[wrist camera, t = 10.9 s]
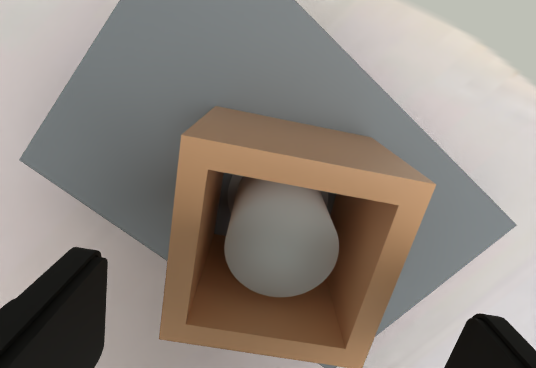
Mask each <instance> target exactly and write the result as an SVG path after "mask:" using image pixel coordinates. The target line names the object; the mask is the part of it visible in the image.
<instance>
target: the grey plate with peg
mask: <svg viewBox="0 0 536 368" xmlns="http://www.w3.org/2000/svg"><path fill="white" fill-rule="evenodd" d="M215 106H219V107H224V108H228V109H233V110H238V111H243V112H248V113H253V114H258V115H263V116H268V117H273V118H278V119H283V120H288V121H293V122H298V123H303V124H308V125H313V126H318V127H323V128H328V129H332V130H337V131H342V132H347V133H352V134H357V135H362V136H367V137H372V138H373V139H374V140H376V141H377V142H379V143H380V144H381V145H383V146H384V147H385V148H387V149H388V150H390V151H391V152H392V153H394V154H395V155H396V156H398V157H399V158H401V159H402V160H403V161H405V162H406V163H408V164H409V165H410V166H412V167H413V168H414V169H416V170H417V171H419V172H420V173H421V174H423V175H424V176H425V177H427V178H428V179H430V180H431V181H432V182H434V183H435V184H436V187H435V189H434V192H433V194H432V197H431V199H430V202H429V204H428V207H427V209H426V211H425V214H424V216H423V219H422V221H421V224H420V226H419V229H418V231H417V234H416V236H415V239H414V241H413V244H412V246H411V249H410V251H409V253H408V256H407V258H406V261H405V263H404V266H403V268H402V271H401V273H400V276H399V278H398V281H397V283H396V286H395V288H394V290H393V293H392V295H391V298H390V300H389V303H388V305H387V308H386V310H385V313H384V315H383V318H382V320H381V323H380V325H379V327H378V330H377V332H376V335H375V336H377V335H378V334H379V333H380V332H382V331H383V330H384V329H385V328H387V327H388V326H389V325H390V324H392V323H393V322H394V321H396V320H397V319H398V318H399V317H401V316H402V315H403V314H404V313H406V312H407V311H408V310H410V309H411V308H412V307H413V306H415V305H416V304H417V303H418V302H420V301H421V300H422V299H424V298H425V297H426V296H427V295H429V294H430V293H431V292H432V291H434V290H435V289H436V288H438V287H439V286H440V285H441V284H443V283H444V282H445V281H446V280H448V279H449V278H450V277H451V276H453V275H454V274H455V273H457V272H458V271H459V270H460V269H462V268H463V267H464V266H465V265H467V264H468V263H469V262H471V261H472V260H473V259H474V258H476V257H477V256H478V255H479V254H481V253H482V252H483V251H485V250H486V249H487V248H488V247H490V246H491V245H492V244H493V243H495V242H496V241H497V240H499V239H500V238H501V237H502V236H504V235H505V234H506V233H507V232H509V231H510V230H511V229H512V228H514V227H515V226H516V224H515V223H514V222H513V221H512V220H511V219H510V218H509V217H508V216H507V215H506V214H505V213H504V212H503V211H502V210H501V209H500V208H499V206H498V205H497V204H496V203H495V202H494V201H493V200H492V199H491V198H490V197H489V196H488V195H487V194H486V193H485V192H484V191H483V190H482V189H481V188H480V187H479V186H478V185H477V184H476V183H475V182H474V181H473V180H472V179H471V178H470V177H469V176H468V175H467V174H466V173H465V172H464V171H463V170H462V169H461V168H460V167H459V166H458V165H457V164H456V163H455V162H454V161H453V160H452V159H451V158H450V157H449V156H448V155H447V154H446V153H445V152H444V151H443V150H442V149H441V148H440V147H439V146H438V145H437V144H436V143H435V142H434V141H433V140H432V139H431V138H430V137H429V136H428V135H427V134H426V133H425V132H424V131H423V130H422V129H421V128H420V126H419V125H418V124H417V123H416V122H415V121H414V120H413V119H412V118H411V117H410V116H409V115H408V114H407V113H406V112H405V111H404V110H403V109H402V108H401V107H400V106H399V105H398V104H397V103H396V102H395V101H394V100H393V99H392V98H391V97H390V96H389V95H388V94H387V93H386V92H385V91H384V90H383V89H382V88H381V87H380V86H379V85H378V84H377V83H376V82H375V81H374V80H373V79H372V78H371V77H370V76H369V75H368V74H367V73H366V72H365V71H364V70H363V69H362V68H361V67H360V66H359V65H358V64H357V63H356V62H355V61H354V60H353V59H352V58H351V57H350V56H349V55H348V54H347V53H346V52H345V51H344V50H343V49H342V48H341V46H340V45H339V44H338V43H337V42H336V41H335V40H334V39H333V38H332V37H331V36H330V35H329V34H328V33H327V32H326V31H325V30H324V29H323V28H322V27H321V26H320V25H319V24H318V23H317V22H316V21H315V20H314V19H313V18H312V17H311V16H310V15H309V14H308V13H307V12H306V11H305V10H304V9H303V8H302V7H301V6H300V5H299V4H298V3H297V2H296V1H295V0H120V1H119V2H118V4H117V5H116V7H115V9H114V10H113V12H112V13H111V15H110V17H109V18H108V20H107V21H106V23H105V25H104V26H103V28H102V29H101V31H100V32H99V34H98V36H97V37H96V39H95V40H94V42H93V44H92V45H91V47H90V48H89V50H88V51H87V53H86V55H85V56H84V58H83V59H82V61H81V63H80V64H79V66H78V67H77V69H76V71H75V72H74V74H73V75H72V77H71V78H70V80H69V82H68V83H67V85H66V86H65V88H64V90H63V91H62V93H61V94H60V96H59V98H58V99H57V101H56V102H55V104H54V105H53V107H52V109H51V110H50V112H49V113H48V115H47V117H46V118H45V120H44V121H43V123H42V125H41V126H40V128H39V129H38V131H37V132H36V134H35V136H34V137H33V139H32V140H31V142H30V144H29V145H28V147H27V148H26V150H25V151H24V153H23V155H22V156H21V158H20V159H19V160H20V161H21V162H23V163H24V164H26V165H27V166H29V167H30V168H32V169H33V170H35V171H36V172H38V173H39V174H41V175H42V176H44V177H45V178H46V179H48V180H49V181H51V182H52V183H54V184H55V185H57V186H58V187H60V188H61V189H63V190H64V191H66V192H67V193H68V194H70V195H71V196H73V197H74V198H76V199H77V200H79V201H80V202H82V203H83V204H85V205H86V206H88V207H89V208H90V209H92V210H93V211H95V212H96V213H98V214H99V215H101V216H102V217H104V218H105V219H107V220H108V221H110V222H111V223H113V224H114V225H115V226H117V227H118V228H120V229H121V230H123V231H124V232H126V233H127V234H129V235H130V236H132V237H133V238H135V239H136V240H137V241H139V242H140V243H142V244H143V245H145V246H146V247H148V248H149V249H151V250H152V251H154V252H155V253H157V254H158V255H159V256H161V257H162V258H164V259H165V260H167V261H168V252H169V243H170V234H171V224H172V215H173V206H174V197H175V188H176V178H177V169H178V160H179V151H180V142H181V135H182V134H183V133H184V132H185V131H186V130H188V129H189V128H190V127H191V126H192V125H194V124H195V123H196V122H197V121H198V120H200V119H201V118H202V117H203V116H204V115H206V114H207V113H208V112H209V111H210V110H211V109H213V108H214V107H215ZM335 197H336V193H330V192H325V191H320V190H314V189H309V188H304V187H298V186H293V185H288V184H282V183H277V182H272V181H267V180H261V179H256V178H251V177H245V176H240V175H235V174H229V173H224V175H223V181H222V187H221V194H220V200H219V206H218V212H217V218H216V225H215V231H214V234H218V235H223V236H226V238H225V245H224V251H225V258H226V262H227V264H228V267H229V269H230V271H231V272H232V274H233V275H234V276H235V278H236V279H237V280H238V281H239V282H240V283H242V284H243V285H244V286H245V287H247V288H249V289H250V290H252V291H254V292H256V293H259V294H262V295H266V296H270V297H291V296H296V295H300V294H303V293H306V292H308V291H310V290H312V289H314V288H315V287H317V286H318V285H319V284H321V283H322V282H323V281H324V280H325V279H326V278H327V277H328V276H329V274H330V273H331V272H332V270H333V268H334V266H335V264H336V262H337V258H338V254H339V240H338V235H337V232H336V230H335V227H334V225H333V222H332V220H331V217H330V214H331V211H332V207H333V204H334V201H335ZM318 364H320V363H318ZM320 365H321V366H322V367H324V368H336V367H337V366H333V365H327V364H320Z"/></svg>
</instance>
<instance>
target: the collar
mask: <svg viewBox="0 0 536 368" xmlns="http://www.w3.org/2000/svg"><path fill="white" fill-rule="evenodd" d="M224 173H229V174H235V175H240V176H245V177H251V178H256V179H261V180H267V181H272V182H277V183H282V184H288V185H293V186H298V187H304V188H309V189H314V190H320V191H325V192H330V193H336V197H335V201H334V204H333V207H332V211H331V214H330V217H331V220H332V222H333V225H334V227H335V230H336V232H337V235H338V240H339V254H338V258H337V262H336V264H335V266H334V268H333V270H332V272H331V273H330V274H329V276H328V277H327V278H326V279H325V280H324V281H323V282H322V283H321V284H319V285H318V286H317V287H315V288H314V289H312V290H310V291H308V292H306V293H303V294H300V295H296V296H291V297H270V296H266V295H262V294H259V293H256V292H254V291H252V290H250V289H249V288H247V287H245V286H244V285H243V284H242V283H240V282H239V281H238V280H237V279H236V278H235V276H234V275H233V274H232V272H231V271H230V269H229V267H228V264H227V262H226V258H225V251H224V245H225V238H226V236H223V235H218V234H214V231H215V225H216V218H217V212H218V206H219V200H220V194H221V187H222V181H223V175H224ZM435 187H436V184H435V183H434V182H432V181H431V180H430V179H428V178H427V177H425V176H424V175H423V174H421V173H420V172H419V171H417V170H416V169H414V168H413V167H412V166H410V165H409V164H408V163H406V162H405V161H403V160H402V159H401V158H399V157H398V156H396V155H395V154H394V153H392V152H391V151H390V150H388V149H387V148H385V147H384V146H383V145H381V144H380V143H379V142H377V141H376V140H374V139H373V138H372V137H367V136H362V135H357V134H352V133H347V132H342V131H337V130H332V129H328V128H323V127H318V126H313V125H308V124H303V123H298V122H293V121H288V120H283V119H278V118H273V117H268V116H263V115H258V114H253V113H248V112H243V111H238V110H233V109H228V108H224V107H219V106H215V107H214V108H213V109H211V110H210V111H209V112H208V113H207V114H206V115H204V116H203V117H202V118H201V119H200V120H198V121H197V122H196V123H195V124H194V125H192V126H191V127H190V128H189V129H188V130H186V131H185V132H184V133H183V134H182V135H181V142H180V151H179V160H178V169H177V178H176V188H175V197H174V206H173V215H172V224H171V234H170V243H169V252H168V261H167V270H166V279H165V289H164V298H163V307H162V316H161V325H160V334H159V339H160V340H167V341H174V342H180V343H187V344H194V345H200V346H207V347H214V348H220V349H227V350H234V351H240V352H247V353H253V354H260V355H267V356H273V357H280V358H287V359H293V360H300V361H307V362H313V363H320V364H327V365H333V366H340V367H347V368H362V367H363V365H364V362H365V360H366V357H367V355H368V352H369V350H370V347H371V345H372V342H373V340H374V337H375V335H376V332H377V330H378V327H379V325H380V323H381V320H382V318H383V315H384V313H385V310H386V308H387V305H388V303H389V300H390V298H391V295H392V293H393V290H394V288H395V286H396V283H397V281H398V278H399V276H400V273H401V271H402V268H403V266H404V263H405V261H406V258H407V256H408V253H409V251H410V249H411V246H412V244H413V241H414V239H415V236H416V234H417V231H418V229H419V226H420V224H421V221H422V219H423V216H424V214H425V211H426V209H427V207H428V204H429V202H430V199H431V197H432V194H433V192H434V189H435Z"/></svg>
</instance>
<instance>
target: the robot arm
mask: <svg viewBox="0 0 536 368" xmlns="http://www.w3.org/2000/svg"><path fill="white" fill-rule="evenodd" d="M107 266H108V263H107V259H106V258H102V257H101V253H100V252H99V251H97V250H91V249H85V248H79V247H73V248H72V249H70V250H69V251H68V252H67V253H66V254H65V255H64V256H62V257H61V258H60V259H59V260H58V261H57V262H56V263H55V264H54V265H53V266H51V267H50V268H49V269H48V270H47V271H46V272H45V273H44V274H43V275H41V276H40V277H39V278H38V279H37V280H36V281H35V282H34V283H33V284H32V285H30V286H29V287H28V288H27V289H26V290H25V291H24V292H23V293H22V294H20V295H19V296H18V297H17V298H16V299H13V300H11V301H10V302H8V303H7V304H5V305H4V306H3V307H2V308H1V309H0V368H94V367H95V366H96V364H97V362H98V360H99V358H100V356H101V354H102V351H103V347H104V336H105V313H106V289H107ZM444 368H536V350H535V349H534V348H533V347H532V346H531V345H530V344H529V343H528V342H527V341H526V340H525V339H524V338H523V337H522V336H521V335H520V334H519V333H518V332H517V331H516V330H515V329H514V328H513V327H512V326H511V325H510V323H509V322H508V321H506V320H505V319H504V318H502V317H498V316H492V315H486V314H476V315H474V316H473V317H472V318H470V319H469V320H468V321H467V322H466V324H465V326H464V328H463V330H462V332H461V334H460V336H459V339H458V341H457V343H456V345H455V347H454V349H453V351H452V353H451V355H450V357H449V359H448V361H447V363H446V365H445V367H444Z"/></svg>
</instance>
